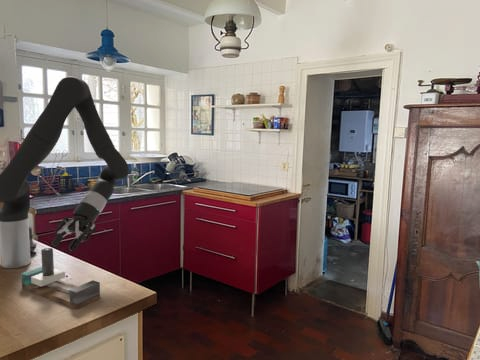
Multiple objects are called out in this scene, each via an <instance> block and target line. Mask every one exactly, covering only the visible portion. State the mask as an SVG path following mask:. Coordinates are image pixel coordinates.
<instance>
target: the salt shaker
mask: <svg viewBox="0 0 480 360" xmlns="http://www.w3.org/2000/svg"><path fill="white" fill-rule="evenodd" d="M33 237H34V235H33V230H32V227H30V226H29V240H30V257H31V256H35V255H36V254H37V252H36V251H35V250H36V248H37V243H36V242H35V243H34V241H33Z"/></svg>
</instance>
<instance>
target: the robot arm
mask: <svg viewBox="0 0 480 360" xmlns="http://www.w3.org/2000/svg"><path fill="white" fill-rule="evenodd" d="M75 109H76V111H77V113H78V114H79V116H80V118H81V121H82V123H83V127H84V130H85V133H86V136H87V139H88V141H89V143H90V145H91V147H92V149H93V151H94V152H95V155H96V156H97V158H98V159H101V160H103V161H104V162H105V163H106V165H105V166H104V167H103V168H102V169H101V172H100V173H99V175H98V178H97V179H96V182H95V183H94V184H93V185H92V187H91V188H90V189H89V190H88V192H87V193H86V194H85V195H84V197H83V198H82V199H81V201H80V202H79V203H78V205H77V206H76V207H75V209H74V210H73V212H72V213H73V216H72V217H71V218H69V217H68V216H65V217H63V219H62V220H61V221H60V223H59V224H58V225H57V227H56V228H55V229H54V232H55V233H56V235H55V237H54V238H53V240H51V245H52V246H53V247H58V246H59V245H60V243H61V242H62V241H63V239H64V238H65V236H67V235H71V234H75V238H74V239H73V240H72V241H71V242H70V244H69V246H67V249H68V250H69V251H70V252H75V251H76V250H77V249H78V247H79V245H80V244H81V243H83V242H88V241H89V239H90V238H91V236H92V235H93V233H94V231H95V230H96V227H97V226H96V224H94V223H95V221H96V220H97V218H98V217H99V216H100V214H101V213H102V211H103V209H105V206H106V205H107V203H108V201H109V199H110V198H111V196H112V195H113V194H114V192H115V188H114V186H115V185H116V184H117V182H118V181H120V180H121V181H122V180H124V179H126V178H127V177H128V176H129V174H130V169H129V165H128V163H127V161H126V159H125V157H123V155H122V154H121V153H120V152H119V151H118V149H116V146H115V144H114V142H113V141H112V138H111V137H110V135H109V133H108V131H107V128H106V127H105V125H104V123H103V122H102V120H101V117H100V115H99V112H98V109H97V107H96V105H95V102H94V98H93V96H92V93H91V89H90V86H89V85H88V83H87V82H86V81H85V80H83V79H82V78H80V77H76V76H65V77H63V78H62V79H60V81H58V83H57V85H56V87H55V89H54V91H53V93H52V94H51V97H50V100H49V101H48V103H47V105H46V106H45V108H44V110H43V111H42V112H41V114H40V115H39V116H38V118H37V120H36V121H35V122H34V124H33V125H32V127H31V128H30V130H29V131H28V132H27V134H26V135H25V137H24V139H23V140H22V142H21V144H20V145H19V147H18V148H17V150H16V152H15V153H14V155H13V157H12V159H11V160H10V162H9V163H8V164H7V165H6V166H5V168H4V169H3V170H2V172H0V203H3V205H2V208H1V209H0V265H1V268H4V269H16V268H17V269H18V268H23V267H25V266H27V265H29V264H31V262H32V260H31V256H30V240H29V227H30V226H29V211H30V207H31V189H30V184H29V181H28V176H29V175H30V174H31V172H33V171H34V170H35V169H36V167H38V166H39V165H40V164H42V162H43V161H44V160H45V159H47V157H48V156H49V155H50V154H51V152H52V151H53V150H54V148H55V147H56V145H57V143H58V141H59V140H60V137H61V135H62V133H63V129H64V125H65V122H66V121H67V118H68V117H69V115H70V114H71V112H72V111H73V110H75Z"/></svg>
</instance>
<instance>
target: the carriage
mask: <svg viewBox="0 0 480 360" xmlns="http://www.w3.org/2000/svg"><path fill="white" fill-rule="evenodd" d="M40 251H41V253H40V254H41V267H42V273H41V274H38V275H35V276H32V277H31V283H33V284H36V285H38V286H41V287H42V286H44V285H47V284H50V283H52V282H55V281H57V280H63V279H64V278H66V271H65V270H61V269H58V268H55V267H54V248H52V247H46V248H42V249H41V250H40Z"/></svg>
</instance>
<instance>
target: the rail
mask: <svg viewBox="0 0 480 360" xmlns="http://www.w3.org/2000/svg"><path fill="white" fill-rule="evenodd" d="M41 273H42V266H39V267H37V268H34V269H30V270H28V271H25V272H22V273H21V274H20V275H21V276H20V277H21V288H22V289H23V290H25V291H27V292H30V293H32V294H36V295H38V296H40V297H43V298H46V299H49V300H51V301H55V302H57V303H60V304H62V305H65V306H68V307H70V308H73V309H76V310H78V309H80V308H83V307H85V306H88V305H89V304H91V303H93V302H95V301H97V300H99V299H101V288H100V287H101V285H100V281H97V280H90V281H88V282H85V283H83V284H80V285H77V284H76V285H75V284H73V283H69V282H66V281H63V280H62V279H60V280H57V281H55V282H52V283H50V284H47V285H44V286H42V287H41V286H38V285H36V284H33V283H31V277H32V276H35V275H38V274H41Z"/></svg>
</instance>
